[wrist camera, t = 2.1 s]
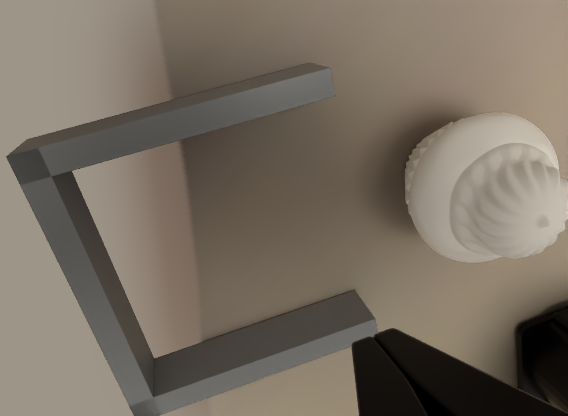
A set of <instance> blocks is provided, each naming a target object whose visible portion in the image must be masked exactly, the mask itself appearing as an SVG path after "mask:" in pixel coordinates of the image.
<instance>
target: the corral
mask: <svg viewBox="0 0 568 416" xmlns="http://www.w3.org/2000/svg"><path fill="white" fill-rule="evenodd" d="M334 96H335V92H334V87H333V81H332V75H331V70H330V68H329V67H325V66H320V65H316V64H312V63H307V64H304V65H300V66H296V67H293V68H289V69H285V70H281V71H278V72H274V73H270V74H267V75H263V76H259V77H256V78H252V79H248V80H245V81H241V82H237V83H233V84H230V85H226V86H222V87H219V88H215V89H211V90H208V91H204V92H200V93H197V94H193V95H189V96H186V97H182V98H178V99H174V100H171V101H167V102H163V103H160V104H156V105H152V106H149V107H145V108H141V109H138V110H134V111H130V112H127V113H123V114H119V115H115V116H112V117H108V118H105V119H101V120H97V121H94V122H90V123H86V124H82V125H79V126H75V127H72V128H68V129H64V130H61V131H56V132H53V133H49V134H46V135H42V136H38V137H34V138H31V139H27V140H26V141H25V142H23V143H22V144H21V145H20V146H19V147H17V148H16V149H15V150H14V151H12V152H11V153H10V154H9V155H8V156H6V157H7V159H8V161H9V163H10V165H11V168H12V169H13V171H14V174H15V176H16V178H17V180H18V181H19V184H20V186H21V188H22V190H23V192H24V194H25V196H26V198H27V200H28V202H29V204H30V206H31V208H32V210H33V212H34V214H35V216H36V218H37V220H38V222H39V224H40V226H41V228H42V230H43V232H44V234H45V236H46V238H47V240H48V242H49V244H50V247H51V249H52V251H53V253H54V255H55V257H56V259H57V261H58V263H59V264H60V267H61V269H62V271H63V273H64V275H65V277H66V279H67V281H68V283H69V285H70V287H71V289H72V291H73V293H74V295H75V297H76V299H77V301H78V303H79V305H80V307H81V309H82V311H83V313H84V315H85V317H86V319H87V322H88V324H89V326H90V328H91V330H92V332H93V334H94V336H95V338H96V340H97V342H98V344H99V346H100V348H101V350H102V352H103V354H104V356H105V358H106V360H107V362H108V364H109V366H110V368H111V370H112V372H113V374H114V376H115V378H116V380H117V382H118V384H119V386H120V388H121V390H122V392H123V394H124V396H125V398H126V400H127V402H128V405H129V407H130V409H131V411H132V412H133V415H134V416H159V415H162V414H165V413H167V412H170V411H173V410H176V409H178V408H181V407H184V406H186V405H190V404H192V403H195V402H197V401H201V400H203V399H206V398H209V397H212V396H214V395H217V394H220V393H223V392H226V391H228V390H231V389H234V388H237V387H239V386H242V385H245V384H248V383H250V382H253V381H256V380H259V379H262V378H264V377H267V376H270V375H273V374H275V373H278V372H281V371H284V370H287V369H289V368H292V367H295V366H298V365H300V364H303V363H306V362H309V361H311V360H314V359H317V358H320V357H323V356H325V355H328V354H331V353H334V352H336V351H339V350H342V349H345V348H347V347H350V346H352V343H353V342H354V341H357V340H360V339H363V338H365V337H368V336H371V337H373V336H374V335H375V334H376V333H378V331H377V325H376V320H375V318H374V316H373V315H372V313H371V312H370V311H369V309H368V308H367V307H366V305H365V304H364V302H363V301H362V300H361V298H360V297H359V296H358V294H357V293H356V292H355V290H353V291H350V292H347V293H344V294H341V295H338V296H335V297H332V298H329V299H326V300H324V301H321V302H318V303H315V304H312V305H309V306H306V307H303V308H300V309H297V310H294V311H292V312H289V313H286V314H283V315H280V316H277V317H274V318H271V319H268V320H265V321H263V322H260V323H257V324H254V325H251V326H248V327H245V328H242V329H239V330H236V331H233V332H231V333H228V334H225V335H222V336H219V337H216V338H213V339H210V340H207V341H204V342H201V343H199V344H196V345H193V346H190V347H187V348H184V349H181V350H178V351H176V352H172V353H170V354H167V355H164V356H161V357H158V358H155V359H154V357H153V355H152V353H151V351H150V348H149V346H148V344H147V341H146V339H145V337H144V335H143V333H142V330H141V328H140V326H139V323H138V321H137V319H136V316H135V314H134V312H133V310H132V307H131V305H130V303H129V300H128V298H127V296H126V294H125V291H124V289H123V287H122V284H121V282H120V280H119V278H118V275H117V273H116V271H115V269H114V266H113V264H112V262H111V259H110V257H109V255H108V253H107V251H106V248H105V246H104V243H103V241H102V239H101V237H100V235H99V232H98V230H97V228H96V225H95V223H94V221H93V219H92V216H91V214H90V212H89V209H88V207H87V205H86V203H85V200H84V198H83V196H82V193H81V191H80V189H79V187H78V184H77V182H76V180H75V177H74V175H73V173H72V171H73V170H76V169H80V168H83V167H86V166H90V165H94V164H97V163H101V162H104V161H108V160H112V159H115V158H119V157H122V156H126V155H129V154H132V153H136V152H140V151H143V150H147V149H150V148H154V147H157V146H161V145H164V144H168V143H172V142H175V141H179V140H182V139H186V138H189V137H193V136H196V135H200V134H203V133H207V132H210V131H214V130H217V129H221V128H225V127H228V126H232V125H235V124H239V123H242V122H246V121H249V120H253V119H256V118H260V117H263V116H267V115H270V114H274V113H277V112H281V111H285V110H288V109H292V108H295V107H299V106H302V105H306V104H309V103H313V102H316V101H320V100H323V99H327V98H330V97H334Z"/></svg>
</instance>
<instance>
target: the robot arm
mask: <svg viewBox="0 0 568 416" xmlns="http://www.w3.org/2000/svg"><path fill="white" fill-rule="evenodd" d="M352 355H353V364H354V373H355V383H356V392H357V401H358V410H359V416H568V307H566V308H563V309H560V310H558V311H555V312H552V313H550V314H547V315H544V316H542V317H539V318H536V319H534V320H531V321H528V322H526V323H523V324H522V325H520V326H519V328H518V330H517V360H518V388H516V387H514V386H512V385H510V384H508V383H506V382H504V381H502V380H500V379H498V378H496V377H494V376H491V375H489V374H487V373H485V372H483V371H481V370H479V369H477V368H475V367H473V366H471V365H469V364H467V363H465V362H463V361H461V360H459V359H457V358H455V357H453V356H450V355H448V354H446V353H444V352H442V351H440V350H438V349H436V348H434V347H432V346H430V345H428V344H426V343H424V342H422V341H420V340H418V339H416V338H414V337H412V336H409V335H407V334H405V333H403V332H401V331H399V330H397V329H394V328H391V329H388V330H385V331H382V332H379V333H376V334H375V335H374V336H373V337H371V336H368V337H365V338H363V339H360V340H357V341H354V342H353V343H352Z"/></svg>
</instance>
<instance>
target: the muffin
mask: <svg viewBox="0 0 568 416" xmlns="http://www.w3.org/2000/svg"><path fill="white" fill-rule="evenodd" d="M408 157H409V160H408V161H407V162H406V169H405V200H406V204H408V213H409V215H411V217H412V220H413V223H414V225H415V227H416V229H417V231H418V233H419V235H420V236H421V237H422V239H423V240H424V241H425V242H426V244H427V245H428V246H429V247H431V248H432V249H433V250H434V251H435V252H437V253H438V254H440V255H442V256H443V257H446V258H448V259H451V260H454V261H459V262H467V263H479V262H487V261H491V260H495V259H497V258H500V257H502V256H506V257H508V258H511V259H519V258H524V257H527V256H532V255H536V254H539V253H540V252H542V251H543V250H544V249H545V247H546V246H550V245H552V244H554V243H555V241H556V239H557V235H558V234H559V233H562V232H564V231H565V221H566V220H568V181H567V180H566V179H563V178H560V175H559V165H558V160H557V156H556V153H555V151H554V148H553V146H552V144H551V143H550V141H549V140H548V138H547V137H546V136H545V135H544V133H543V132H542V131H541V130H540V129H539V128H538V127H536V126H535V125H534V124H533V123H531V122H530V121H528V120H526V119H524V118H522V117H520V116H517V115H514V114H510V113H503V112H489V113H482V114H478V115H474V116H471V117H468V118H461V119H459V120H458V121H456V122H450V123H449V124H447V125H445V126H444V127H442V128H440V129H439V130H437V131H435V132H434V133H432V134H430V135H429V136H427V137H425V138H424V139H422V141H421V142H420V143H418V144H417V145H416V148H415V149H413V150H412V154H411V155H409V156H408Z"/></svg>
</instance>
